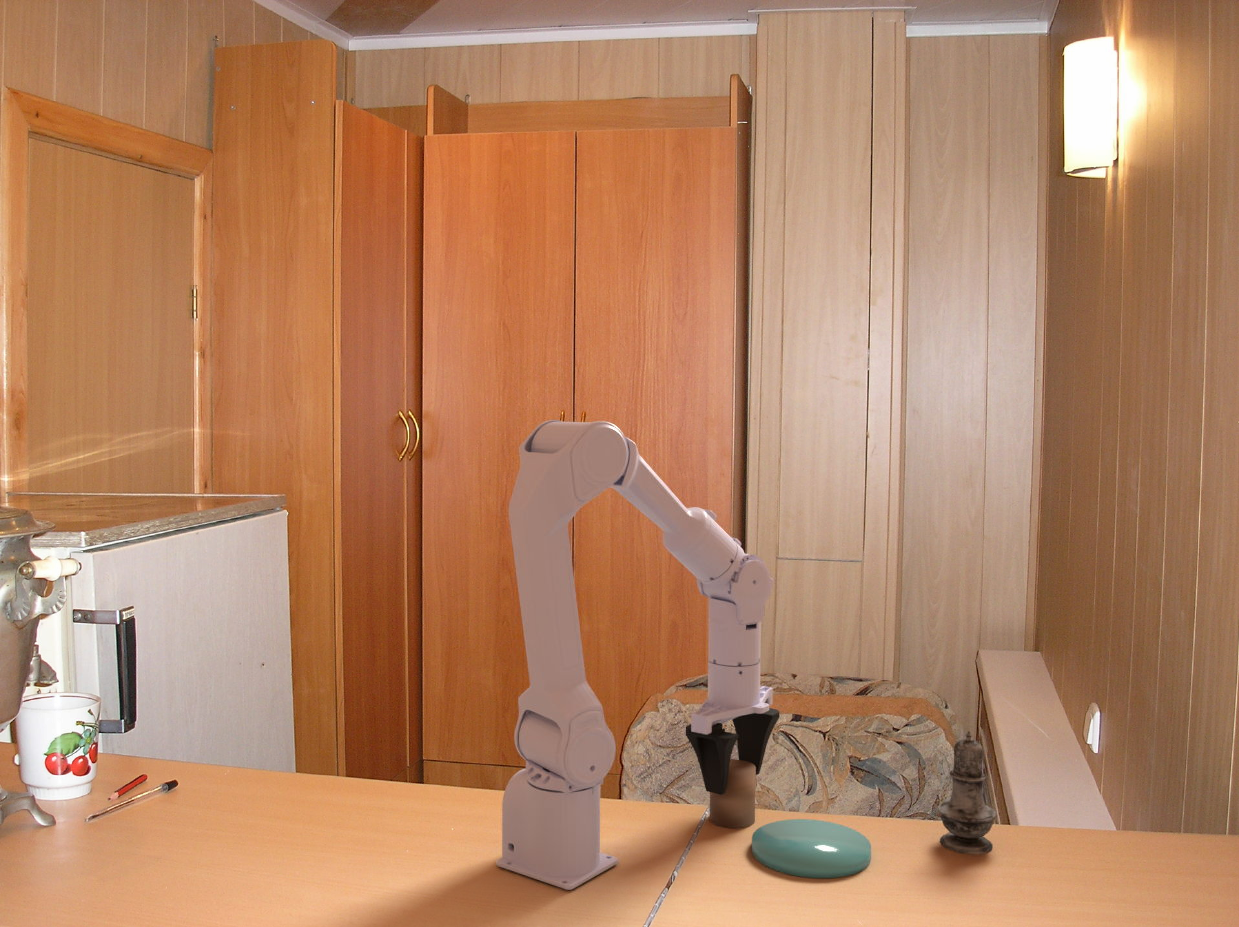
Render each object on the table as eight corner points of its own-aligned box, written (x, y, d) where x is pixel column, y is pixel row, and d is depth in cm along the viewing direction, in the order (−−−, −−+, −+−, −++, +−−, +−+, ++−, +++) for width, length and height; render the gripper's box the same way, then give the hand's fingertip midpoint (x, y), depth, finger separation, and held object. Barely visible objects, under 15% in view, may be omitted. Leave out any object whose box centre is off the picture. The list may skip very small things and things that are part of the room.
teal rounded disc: (730, 857, 109) (730, 845, 109) (785, 821, 119) (785, 810, 119) (840, 889, 102) (840, 876, 102) (889, 848, 112) (889, 836, 112)
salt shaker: (999, 857, 110) (1002, 741, 109) (939, 852, 111) (942, 737, 110) (991, 835, 115) (994, 724, 115) (934, 830, 117) (937, 721, 116)
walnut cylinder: (701, 821, 119) (701, 767, 119) (724, 808, 123) (724, 756, 123) (740, 832, 116) (741, 777, 116) (763, 818, 120) (763, 765, 120)
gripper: (732, 679, 110) (731, 809, 111) (797, 653, 122) (795, 771, 123) (674, 669, 114) (674, 795, 115) (742, 645, 126) (741, 759, 127)
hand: (733, 782), depth 119 cm, fingers open, 7 cm apart
